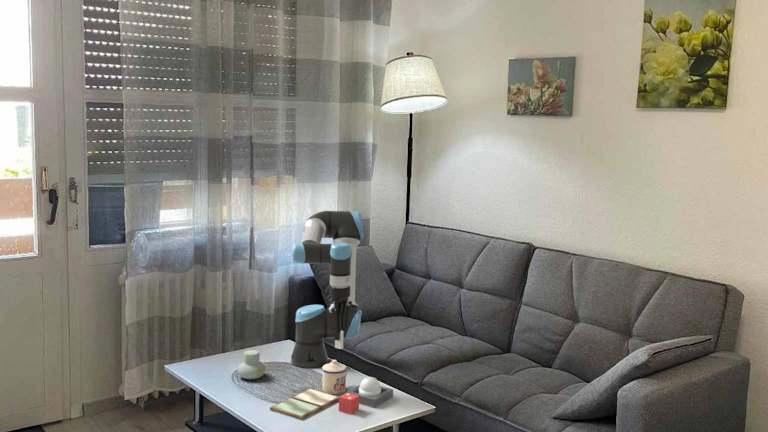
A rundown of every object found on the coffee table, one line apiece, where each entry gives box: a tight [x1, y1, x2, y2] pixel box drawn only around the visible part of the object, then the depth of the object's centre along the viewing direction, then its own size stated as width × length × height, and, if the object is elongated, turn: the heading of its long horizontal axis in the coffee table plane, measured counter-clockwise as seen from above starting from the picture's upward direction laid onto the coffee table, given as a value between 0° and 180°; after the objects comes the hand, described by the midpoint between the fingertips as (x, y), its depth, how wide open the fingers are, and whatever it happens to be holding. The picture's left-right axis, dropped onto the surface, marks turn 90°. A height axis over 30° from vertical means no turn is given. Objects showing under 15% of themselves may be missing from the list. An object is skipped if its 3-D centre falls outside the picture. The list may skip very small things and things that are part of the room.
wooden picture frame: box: [269, 388, 340, 421], centre depth 261 cm, size 22×14×1 cm, turn 147°
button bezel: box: [345, 384, 394, 409], centre depth 267 cm, size 12×12×3 cm
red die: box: [338, 393, 360, 415], centre depth 256 cm, size 5×5×5 cm
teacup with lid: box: [321, 359, 348, 396], centre depth 275 cm, size 12×9×12 cm
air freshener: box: [236, 349, 267, 380], centre depth 286 cm, size 11×8×10 cm
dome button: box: [359, 376, 381, 398], centre depth 267 cm, size 8×8×7 cm
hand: (339, 347), depth 273 cm, fingers closed
